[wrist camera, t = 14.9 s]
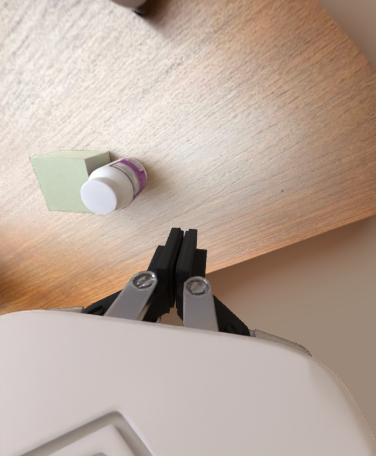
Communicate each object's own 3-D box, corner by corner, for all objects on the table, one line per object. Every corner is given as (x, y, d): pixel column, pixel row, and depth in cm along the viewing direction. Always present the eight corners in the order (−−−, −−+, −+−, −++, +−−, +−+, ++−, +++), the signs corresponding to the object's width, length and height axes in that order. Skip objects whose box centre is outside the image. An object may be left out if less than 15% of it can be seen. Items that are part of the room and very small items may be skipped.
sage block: (108, 151, 27) (84, 159, 22) (117, 197, 31) (97, 213, 25) (62, 149, 28) (28, 156, 23) (76, 195, 31) (48, 210, 26)
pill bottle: (122, 195, 30) (88, 224, 22) (107, 161, 28) (63, 179, 19) (153, 188, 29) (130, 216, 21) (141, 152, 27) (109, 167, 18)
